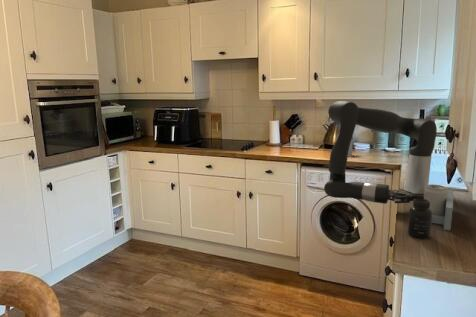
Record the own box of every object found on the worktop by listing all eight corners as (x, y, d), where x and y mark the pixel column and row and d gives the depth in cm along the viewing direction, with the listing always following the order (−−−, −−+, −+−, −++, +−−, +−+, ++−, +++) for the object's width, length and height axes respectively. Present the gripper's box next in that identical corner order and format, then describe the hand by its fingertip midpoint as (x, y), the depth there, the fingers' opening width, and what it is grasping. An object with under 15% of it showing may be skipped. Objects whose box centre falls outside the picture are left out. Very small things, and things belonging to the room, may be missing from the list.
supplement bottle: (405, 230, 126) (408, 196, 124) (427, 232, 124) (431, 198, 122) (408, 238, 120) (412, 202, 117) (432, 240, 118) (435, 204, 115)
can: (438, 213, 142) (441, 183, 139) (448, 220, 134) (452, 189, 132) (418, 213, 142) (421, 183, 140) (427, 220, 135) (430, 188, 132)
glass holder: (345, 157, 249) (346, 135, 246) (331, 153, 262) (332, 132, 259) (355, 156, 253) (356, 134, 250) (341, 152, 265) (342, 132, 262)
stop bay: (424, 205, 151) (426, 187, 149) (450, 209, 146) (453, 190, 144) (419, 225, 130) (421, 203, 129) (450, 230, 126) (452, 208, 124)
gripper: (372, 187, 141) (423, 194, 133) (379, 180, 152) (425, 185, 144) (371, 206, 143) (421, 214, 134) (377, 197, 154) (424, 203, 145)
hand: (423, 199), depth 139 cm, fingers closed
